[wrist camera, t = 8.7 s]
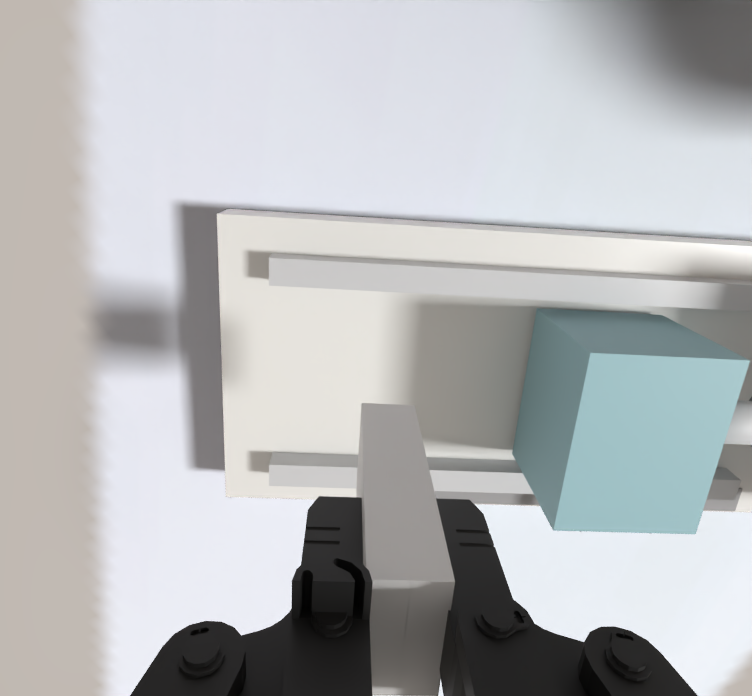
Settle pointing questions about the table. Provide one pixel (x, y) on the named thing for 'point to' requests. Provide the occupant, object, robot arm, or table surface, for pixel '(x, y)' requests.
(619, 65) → the table surface
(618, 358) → the gauge slider
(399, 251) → the board
